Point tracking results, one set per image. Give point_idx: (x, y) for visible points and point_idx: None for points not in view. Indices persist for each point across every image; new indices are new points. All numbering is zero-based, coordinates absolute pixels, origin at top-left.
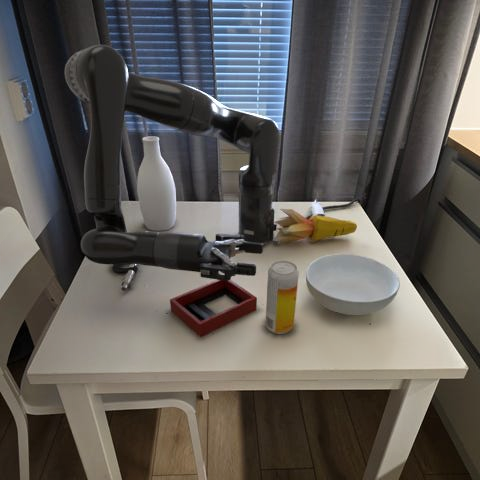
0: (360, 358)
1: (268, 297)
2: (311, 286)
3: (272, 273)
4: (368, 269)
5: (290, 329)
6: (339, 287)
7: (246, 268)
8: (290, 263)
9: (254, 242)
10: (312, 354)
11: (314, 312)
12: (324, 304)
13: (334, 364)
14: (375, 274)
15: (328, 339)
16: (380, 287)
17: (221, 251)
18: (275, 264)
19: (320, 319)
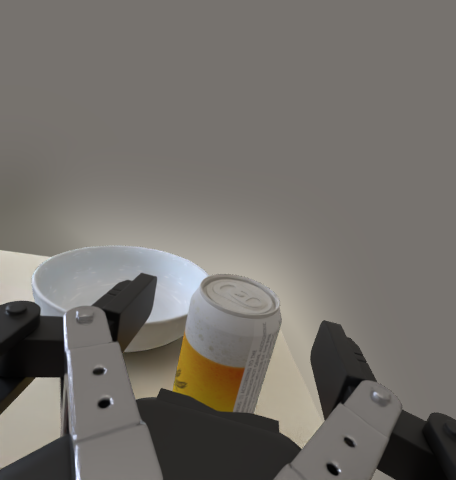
0: (274, 347)
1: (241, 407)
2: (149, 326)
3: (267, 322)
4: (89, 265)
5: None
6: None
7: (356, 354)
8: (209, 281)
9: (127, 285)
10: (284, 405)
11: (150, 373)
12: (177, 336)
13: (299, 379)
14: (104, 266)
15: None
16: (128, 277)
17: (224, 465)
18: (219, 303)
19: (176, 369)
